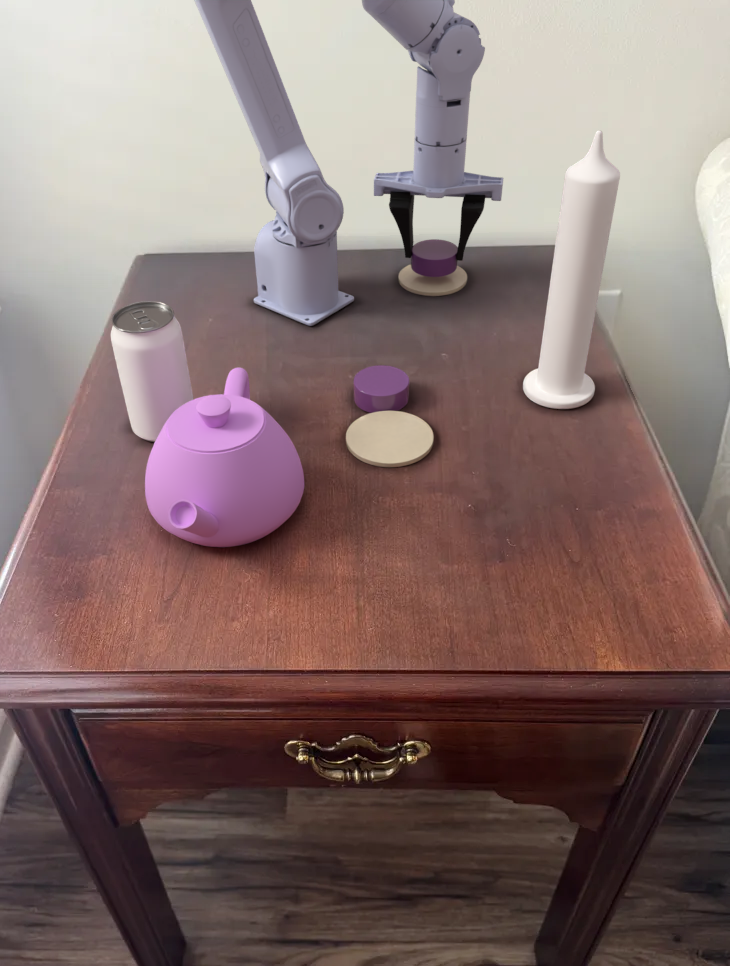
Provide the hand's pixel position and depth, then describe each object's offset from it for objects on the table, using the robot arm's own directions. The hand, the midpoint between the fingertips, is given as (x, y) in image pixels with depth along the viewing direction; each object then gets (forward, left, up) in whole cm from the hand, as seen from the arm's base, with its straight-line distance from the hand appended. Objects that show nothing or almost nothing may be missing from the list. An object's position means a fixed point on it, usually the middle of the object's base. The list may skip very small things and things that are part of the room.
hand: (434, 255), depth 103 cm
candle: (+24, -12, -3) cm, 27 cm away
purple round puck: (0, 0, -1) cm, 1 cm away
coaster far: (0, 0, -3) cm, 3 cm away
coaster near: (+16, -29, -3) cm, 33 cm away
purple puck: (+11, -24, -3) cm, 27 cm away
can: (-3, -41, -3) cm, 41 cm away
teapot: (+11, -46, -3) cm, 47 cm away
